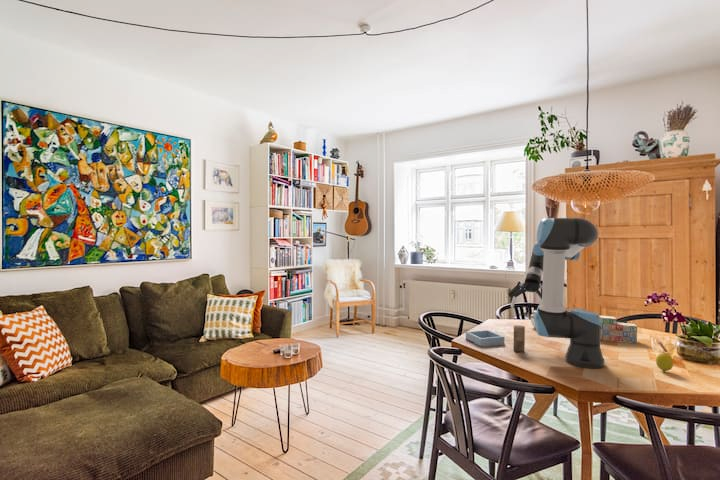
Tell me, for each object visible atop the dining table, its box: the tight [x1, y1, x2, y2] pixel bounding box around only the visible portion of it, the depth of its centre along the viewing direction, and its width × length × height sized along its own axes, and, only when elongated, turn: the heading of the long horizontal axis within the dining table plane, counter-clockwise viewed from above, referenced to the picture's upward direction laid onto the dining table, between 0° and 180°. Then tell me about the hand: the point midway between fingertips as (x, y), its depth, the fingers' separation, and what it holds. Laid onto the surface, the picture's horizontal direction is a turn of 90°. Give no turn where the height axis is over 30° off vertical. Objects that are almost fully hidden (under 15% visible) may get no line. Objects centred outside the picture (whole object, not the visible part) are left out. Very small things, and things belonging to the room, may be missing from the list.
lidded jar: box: [529, 313, 536, 330], centre depth 231 cm, size 11×11×9 cm
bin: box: [465, 329, 505, 347], centre depth 202 cm, size 14×14×4 cm
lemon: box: [655, 352, 674, 372], centre depth 160 cm, size 6×6×8 cm
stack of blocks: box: [599, 315, 638, 344], centre depth 207 cm, size 21×6×12 cm, turn 64°
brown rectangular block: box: [512, 324, 526, 354], centre depth 187 cm, size 5×5×12 cm
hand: (525, 309), depth 196 cm, fingers open, 13 cm apart
